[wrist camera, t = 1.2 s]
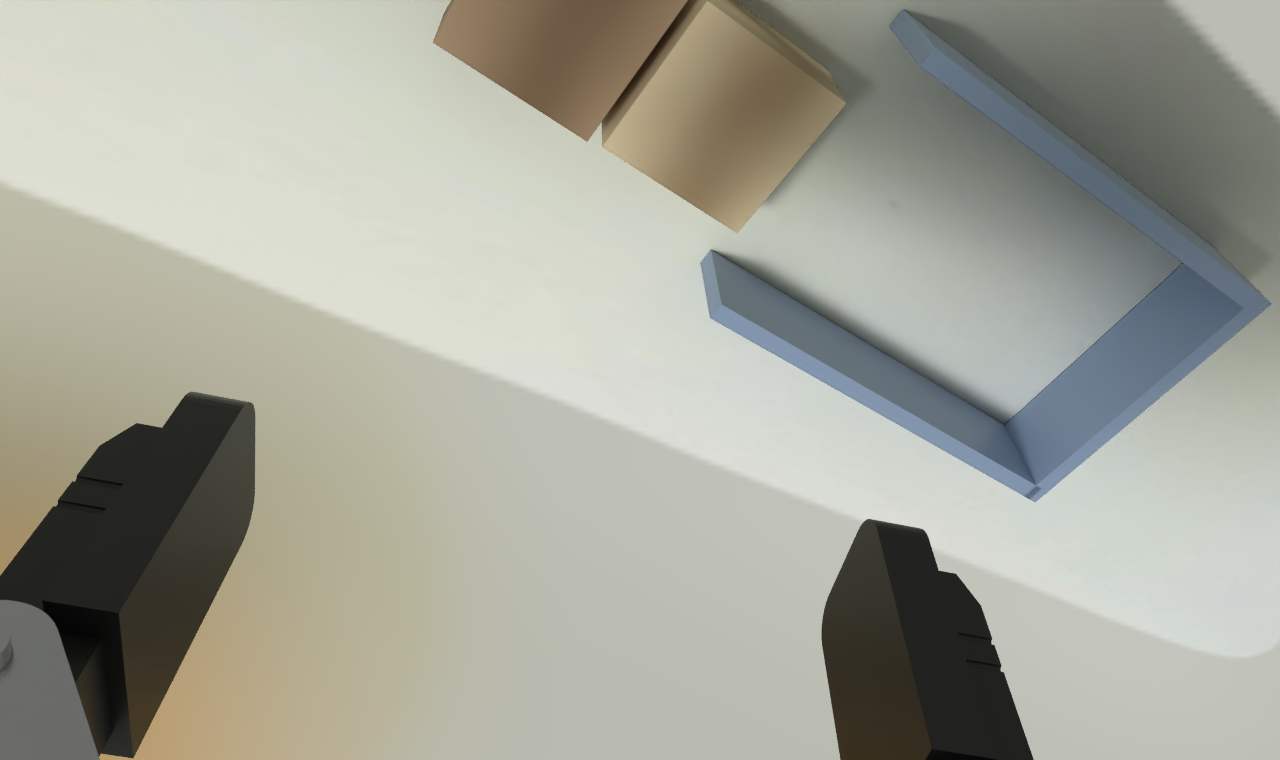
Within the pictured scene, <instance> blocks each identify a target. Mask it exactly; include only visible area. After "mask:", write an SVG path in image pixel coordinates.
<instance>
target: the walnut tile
mask: <svg viewBox="0 0 1280 760" xmlns="http://www.w3.org/2000/svg"><path fill="white" fill-rule="evenodd" d="M687 1H688V0H452V1H451V2H450V4H449V6H448V7H447V9H446V11H445V13H444V15H443V18H442V20H441V23H440V26H439V28H438V31H437V33H436V36H435V38H434V41H433V43H435V44H436V45H438V46H439V47H441V48H442V49H444V50H445V51H447V52H449V53H450V54H452V55H453V56H455V57H456V58H458V59H459V60H461V61H463V62H464V63H466V64H467V65H469V66H470V67H472V68H473V69H475V70H477V71H478V72H480V73H481V74H483V75H484V76H486V77H487V78H489V79H491V80H492V81H494V82H495V83H497V84H498V85H500V86H501V87H503V88H505V89H506V90H508V91H509V92H511V93H512V94H514V95H515V96H517V97H519V98H520V99H522V100H523V101H525V102H526V103H528V104H529V105H531V106H533V107H534V108H536V109H537V110H539V111H540V112H542V113H543V114H545V115H547V116H548V117H550V118H551V119H553V120H554V121H556V122H557V123H559V124H561V125H562V126H564V127H565V128H567V129H568V130H570V131H571V132H573V133H575V134H576V135H578V136H579V137H581V138H582V139H584V140H585V141H588V140H589V139H590V137H591V136H592V134H593V133H594V132H595V130H596V129H597V127H598V126H599V124H600V123H601V122H602V120H603V119H604V117H605V116H606V115H607V113H608V112H609V110H610V109H611V108H612V106H613V105H614V103H615V102H616V101H617V99H618V98H619V96H620V95H621V94H622V92H623V91H624V89H625V88H626V87H627V85H628V84H629V82H630V81H631V79H632V78H633V77H634V75H635V74H636V72H637V71H638V70H639V68H640V67H641V65H642V64H643V63H644V61H645V60H646V58H647V57H648V56H649V54H650V53H651V51H652V50H653V49H654V47H655V46H656V44H657V43H658V42H659V40H660V39H661V37H662V36H663V34H664V33H665V32H666V30H667V29H668V27H669V26H670V25H671V23H672V22H673V20H674V19H675V18H676V16H677V15H678V13H679V12H680V11H681V9H682V8H683V6H684V5H685V4H686V2H687Z"/></svg>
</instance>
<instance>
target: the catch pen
mask: <svg viewBox="0 0 1280 760" xmlns="http://www.w3.org/2000/svg"><path fill="white" fill-rule="evenodd" d="M890 28H891V29H892V30H893V32H894V33H895V34H896V36H897V37H898V38H899V40H900V41H901V42H902V44H903V45H904V46H905V48H906V49H907V50H908V51H909V53H910V54H911V55H912V57H913V58H914V59H915V61H916V62H917V63H918V65H919V66H920V67H921V68H923V69H924V70H925V71H927V72H928V73H929V74H931V75H932V76H933V77H935V78H936V79H937V80H939V81H940V82H941V83H943V84H944V85H945V86H947V87H948V88H949V89H951V90H952V91H953V92H955V93H956V94H957V95H959V96H960V97H961V98H963V99H964V100H965V101H967V102H968V103H970V104H971V105H972V106H974V107H975V108H976V109H978V110H979V111H980V112H982V113H983V114H984V115H986V116H987V117H988V118H990V119H991V120H992V121H994V122H995V123H996V124H998V125H999V126H1000V127H1002V128H1003V129H1004V130H1006V131H1007V132H1008V133H1010V134H1011V135H1012V136H1014V137H1015V138H1016V139H1018V140H1019V141H1020V142H1022V143H1023V144H1024V145H1026V146H1027V147H1029V148H1030V149H1031V150H1033V151H1034V152H1035V153H1037V154H1038V155H1039V156H1041V157H1042V158H1043V159H1045V160H1046V161H1047V162H1049V163H1050V164H1051V165H1053V166H1054V167H1055V168H1057V169H1058V170H1059V171H1061V172H1062V173H1063V174H1065V175H1066V176H1067V177H1069V178H1070V179H1071V180H1073V181H1074V182H1075V183H1077V184H1078V185H1079V186H1081V187H1082V188H1084V189H1085V190H1086V191H1088V192H1089V193H1090V194H1092V195H1093V196H1094V197H1096V198H1097V199H1098V200H1100V201H1101V202H1102V203H1104V204H1105V205H1106V206H1108V207H1109V208H1110V209H1112V210H1113V211H1114V212H1116V213H1117V214H1118V215H1120V216H1121V217H1122V218H1124V219H1125V220H1126V221H1128V222H1129V223H1130V224H1132V225H1133V226H1134V227H1136V228H1137V229H1138V230H1140V231H1141V232H1143V233H1144V234H1145V235H1147V236H1148V237H1149V238H1151V239H1152V240H1153V241H1155V242H1156V243H1157V244H1159V245H1160V246H1161V247H1163V248H1164V249H1165V250H1167V251H1168V252H1169V253H1171V254H1172V255H1173V256H1175V257H1176V258H1177V259H1179V260H1180V261H1181V262H1183V264H1182V265H1181V266H1180V267H1179V268H1178V269H1177V270H1175V271H1174V272H1173V273H1172V274H1171V275H1170V276H1169V277H1168V278H1167V279H1166V280H1164V281H1163V282H1162V283H1161V284H1160V285H1159V286H1158V287H1157V288H1156V289H1154V290H1153V291H1152V292H1151V293H1150V294H1149V295H1148V296H1147V297H1146V298H1145V299H1143V300H1142V301H1141V302H1140V303H1139V304H1138V305H1137V306H1136V307H1135V308H1133V309H1132V310H1131V311H1130V312H1129V313H1128V314H1127V315H1126V316H1125V317H1124V318H1122V319H1121V320H1120V321H1119V322H1118V323H1117V324H1116V325H1115V326H1114V327H1112V328H1111V329H1110V330H1109V331H1108V332H1107V333H1106V334H1105V335H1104V336H1103V337H1101V338H1100V339H1099V340H1098V341H1097V342H1096V343H1095V344H1094V345H1093V346H1091V347H1090V348H1089V349H1088V350H1087V351H1086V352H1085V353H1084V354H1083V355H1082V356H1080V357H1079V358H1078V359H1077V360H1076V361H1075V362H1074V363H1073V364H1072V365H1071V366H1069V367H1068V368H1067V369H1066V370H1065V371H1064V372H1063V373H1062V374H1061V375H1059V376H1058V377H1057V378H1056V379H1055V380H1054V381H1053V382H1052V383H1051V384H1050V385H1048V386H1047V387H1046V388H1045V389H1044V390H1043V391H1042V392H1041V393H1040V394H1038V395H1037V396H1036V397H1035V398H1034V399H1033V400H1032V401H1031V402H1030V403H1029V404H1027V405H1026V406H1025V407H1024V408H1023V409H1022V410H1021V411H1020V412H1019V413H1017V414H1016V415H1015V416H1014V417H1013V418H1012V419H1011V420H1010V421H1009V422H1008V423H1006V424H1005V425H1003V424H1002V423H1000V422H998V421H997V420H995V419H993V418H992V417H990V416H988V415H987V414H985V413H983V412H982V411H980V410H978V409H977V408H975V407H973V406H972V405H970V404H968V403H966V402H965V401H963V400H961V399H960V398H958V397H956V396H955V395H953V394H951V393H950V392H948V391H946V390H945V389H943V388H941V387H940V386H938V385H936V384H935V383H933V382H931V381H930V380H928V379H926V378H925V377H923V376H921V375H920V374H918V373H916V372H915V371H913V370H911V369H910V368H908V367H906V366H905V365H903V364H901V363H900V362H898V361H896V360H895V359H893V358H891V357H889V356H888V355H886V354H884V353H883V352H881V351H879V350H878V349H876V348H874V347H873V346H871V345H869V344H868V343H866V342H864V341H863V340H861V339H859V338H858V337H856V336H854V335H853V334H851V333H849V332H848V331H846V330H844V329H843V328H841V327H839V326H838V325H836V324H834V323H833V322H831V321H829V320H828V319H826V318H824V317H823V316H821V315H819V314H817V313H816V312H814V311H812V310H811V309H809V308H807V307H806V306H804V305H802V304H801V303H799V302H797V301H796V300H794V299H792V298H791V297H789V296H787V295H786V294H784V293H782V292H781V291H779V290H777V289H776V288H774V287H772V286H771V285H769V284H767V283H766V282H764V281H762V280H761V279H759V278H757V277H756V276H754V275H752V274H751V273H749V272H747V271H745V270H744V269H742V268H740V267H739V266H737V265H735V264H734V263H732V262H730V261H729V260H727V259H725V258H724V257H722V256H720V255H719V254H717V253H715V252H714V251H712V250H710V251H709V253H708V254H707V255H706V256H705V258H704V259H703V260H702V261H701V269H702V274H703V280H704V286H705V291H706V297H707V303H708V309H709V314H710V318H711V319H713V320H715V321H716V322H718V323H720V324H722V325H723V326H725V327H727V328H729V329H731V330H732V331H734V332H736V333H738V334H739V335H741V336H743V337H745V338H746V339H748V340H750V341H752V342H753V343H755V344H757V345H759V346H760V347H762V348H764V349H766V350H768V351H769V352H771V353H773V354H775V355H776V356H778V357H780V358H782V359H783V360H785V361H787V362H789V363H790V364H792V365H794V366H796V367H798V368H799V369H801V370H803V371H805V372H806V373H808V374H810V375H812V376H813V377H815V378H817V379H819V380H820V381H822V382H824V383H826V384H827V385H829V386H831V387H833V388H835V389H836V390H838V391H840V392H842V393H843V394H845V395H847V396H849V397H850V398H852V399H854V400H856V401H857V402H859V403H861V404H863V405H864V406H866V407H868V408H870V409H872V410H873V411H875V412H877V413H879V414H880V415H882V416H884V417H886V418H887V419H889V420H891V421H893V422H894V423H896V424H898V425H900V426H902V427H903V428H905V429H907V430H909V431H910V432H912V433H914V434H916V435H917V436H919V437H921V438H923V439H924V440H926V441H928V442H930V443H931V444H933V445H935V446H937V447H939V448H940V449H942V450H944V451H946V452H947V453H949V454H951V455H953V456H954V457H956V458H958V459H960V460H961V461H963V462H965V463H967V464H968V465H970V466H972V467H974V468H976V469H977V470H979V471H981V472H983V473H984V474H986V475H988V476H990V477H991V478H993V479H995V480H997V481H998V482H1000V483H1002V484H1004V485H1006V486H1007V487H1009V488H1011V489H1013V490H1014V491H1016V492H1018V493H1020V494H1021V495H1023V496H1025V497H1027V498H1028V499H1030V500H1032V501H1034V502H1036V501H1037V500H1039V499H1040V498H1041V497H1042V496H1043V495H1045V494H1046V493H1047V492H1048V491H1049V490H1051V489H1052V488H1053V487H1054V486H1055V485H1056V484H1058V483H1059V482H1060V481H1061V480H1062V479H1064V478H1065V477H1066V476H1067V475H1068V474H1070V473H1071V472H1072V471H1073V470H1074V469H1076V468H1077V467H1078V466H1079V465H1080V464H1081V463H1083V462H1084V461H1085V460H1086V459H1087V458H1089V457H1090V456H1091V455H1092V454H1093V453H1095V452H1096V451H1097V450H1098V449H1099V448H1101V447H1102V446H1103V445H1104V444H1105V443H1106V442H1108V441H1109V440H1110V439H1111V438H1112V437H1114V436H1115V435H1116V434H1117V433H1118V432H1120V431H1121V430H1122V429H1123V428H1124V427H1126V426H1127V425H1128V424H1129V423H1130V422H1131V421H1133V420H1134V419H1135V418H1136V417H1137V416H1139V415H1140V414H1141V413H1142V412H1143V411H1145V410H1146V409H1147V408H1148V407H1149V406H1151V405H1152V404H1153V403H1154V402H1155V401H1157V400H1158V399H1159V398H1160V397H1161V396H1162V395H1164V394H1165V393H1166V392H1167V391H1168V390H1170V389H1171V388H1172V387H1173V386H1174V385H1176V384H1177V383H1178V382H1179V381H1180V380H1182V379H1183V378H1184V377H1185V376H1186V375H1187V374H1189V373H1190V372H1191V371H1192V370H1193V369H1195V368H1196V367H1197V366H1198V365H1199V364H1201V363H1202V362H1203V361H1204V360H1205V359H1207V358H1208V357H1209V356H1210V355H1211V354H1212V353H1214V352H1215V351H1216V350H1217V349H1218V348H1220V347H1221V346H1222V345H1223V344H1224V343H1226V342H1227V341H1228V340H1229V339H1230V338H1232V337H1233V336H1234V335H1235V334H1236V333H1237V332H1239V331H1240V330H1241V329H1242V328H1243V327H1245V326H1246V325H1247V324H1248V323H1249V322H1251V321H1252V320H1253V319H1254V318H1255V317H1257V316H1258V315H1259V314H1260V313H1261V312H1262V311H1264V310H1265V309H1266V308H1267V307H1268V306H1270V305H1271V303H1270V302H1269V301H1268V300H1267V299H1266V298H1265V297H1264V296H1263V295H1262V294H1261V293H1260V292H1259V291H1258V290H1257V289H1256V288H1255V287H1254V286H1253V285H1252V284H1251V283H1250V282H1249V281H1248V280H1247V279H1246V278H1245V277H1244V276H1243V275H1242V274H1241V273H1240V272H1239V271H1238V270H1237V269H1236V268H1235V267H1234V266H1233V265H1232V264H1231V263H1230V262H1229V261H1228V260H1227V259H1226V258H1225V257H1224V256H1223V255H1222V254H1221V253H1220V252H1219V251H1218V250H1216V249H1215V248H1214V247H1212V246H1211V245H1210V244H1208V243H1207V242H1206V241H1204V240H1203V239H1202V238H1201V237H1199V236H1198V235H1197V234H1195V233H1194V232H1193V231H1191V230H1190V229H1189V228H1188V227H1186V226H1185V225H1184V224H1182V223H1181V222H1180V221H1178V220H1177V219H1176V218H1174V217H1173V216H1172V215H1171V214H1169V213H1168V212H1167V211H1165V210H1164V209H1163V208H1161V207H1160V206H1159V205H1158V204H1156V203H1155V202H1154V201H1152V200H1151V199H1150V198H1148V197H1147V196H1146V195H1144V194H1143V193H1142V192H1141V191H1139V190H1138V189H1137V188H1135V187H1134V186H1133V185H1131V184H1130V183H1129V182H1128V181H1126V180H1125V179H1124V178H1122V177H1121V176H1120V175H1118V174H1117V173H1116V172H1114V171H1113V170H1112V169H1111V168H1109V167H1108V166H1107V165H1105V164H1104V163H1103V162H1101V161H1100V160H1099V159H1098V158H1096V157H1095V156H1094V155H1092V154H1091V153H1090V152H1088V151H1087V150H1086V149H1085V148H1083V147H1082V146H1081V145H1079V144H1078V143H1077V142H1075V141H1074V140H1073V139H1071V138H1070V137H1069V136H1068V135H1066V134H1065V133H1064V132H1062V131H1061V130H1060V129H1058V128H1057V127H1056V126H1055V125H1053V124H1052V123H1051V122H1049V121H1048V120H1047V119H1045V118H1044V117H1043V116H1041V115H1040V114H1039V113H1038V112H1036V111H1035V110H1034V109H1032V108H1031V107H1030V106H1028V105H1027V104H1026V103H1025V102H1023V101H1022V100H1021V99H1019V98H1018V97H1017V96H1015V95H1014V94H1013V93H1011V92H1010V91H1009V90H1008V89H1006V88H1005V87H1004V86H1002V85H1001V84H1000V83H998V82H997V81H996V80H995V79H993V78H992V77H991V76H989V75H988V74H987V73H985V72H984V71H983V70H982V69H980V68H979V67H978V66H976V65H975V64H974V63H972V62H971V61H970V60H968V59H967V58H966V57H965V56H963V55H962V54H961V53H959V52H958V51H957V50H955V49H954V48H953V47H952V46H950V45H949V44H948V43H946V42H945V41H944V40H942V39H941V38H940V37H938V36H937V35H936V34H935V33H933V32H932V31H931V30H929V29H928V28H927V27H925V26H924V25H923V24H922V23H920V22H919V21H918V20H916V19H915V18H914V17H912V16H911V15H910V14H908V13H907V12H906V11H905V10H902V12H901V13H900V14H899V15H898V17H897V18H896V19H895V20H894V22H893V23H892V24H891V25H890Z"/></svg>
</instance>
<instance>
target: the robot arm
mask: <svg viewBox="0 0 1280 760" xmlns="http://www.w3.org/2000/svg"><path fill="white" fill-rule="evenodd" d="M254 495H255V410H254V406H253V404H252V403H250V402H245V401H240V400H235V399H229V398H224V397H218V396H213V395H207V394H202V393H197V392H189V393H188V394H187V395H185V396H184V398H183V399H182V400H181V402H180V403H179V405H178V406H177V407H176V409H175V410H174V412H173V413H172V415H171V416H170V418H169V419H168V421H167V422H166V423H165V425H164V426H163V428H159V427H155V426H149V425H144V424H138V423H136V424H135V425H133V426H131V427H130V428H128V429H126V430H125V431H123V432H122V433H120V434H118V435H117V436H115V437H113V438H112V439H110V440H109V441H107V442H105V443H104V444H102V445H100V446H99V447H98V449H97V450H96V451H95V453H94V454H93V455H92V456H91V458H90V459H89V460H88V462H87V463H86V464H85V466H84V467H83V468H82V470H81V471H80V472H79V473H78V475H77V479H76V481H75V482H72V483H71V484H70V485H69V487H68V488H67V489H66V490H65V492H64V493H63V494H62V496H61V497H60V498H59V500H58V505H57V506H56V507H55V506H54V507H53V508H52V509H51V510H50V511H49V513H48V514H47V516H46V517H45V518H44V519H43V521H42V522H41V523H40V525H39V526H38V527H37V529H36V530H35V531H34V532H33V534H32V535H31V536H30V538H29V539H28V540H27V542H26V543H25V544H24V546H23V547H22V548H21V549H20V551H19V552H18V554H17V555H16V556H15V557H14V559H13V560H12V561H11V563H10V564H9V565H8V566H7V568H6V569H5V570H4V572H3V573H2V574H1V576H0V760H100V759H99V756H100V754H101V753H102V754H108V755H115V756H122V757H128V758H133V757H134V756H135V754H136V752H137V750H138V748H139V746H140V744H141V742H142V740H143V738H144V736H145V734H146V732H147V730H148V728H149V726H150V724H151V722H152V720H153V718H154V716H155V714H156V712H157V710H158V708H159V706H160V704H161V702H162V700H163V698H164V696H165V695H166V693H167V690H168V689H169V686H170V685H171V683H172V681H173V679H174V677H175V675H176V673H177V671H178V669H179V667H180V665H181V663H182V661H183V659H184V657H185V655H186V653H187V651H188V649H189V647H190V645H191V643H192V641H193V639H194V637H195V635H196V633H197V631H198V629H199V627H200V625H201V623H202V622H203V619H204V617H205V615H206V614H207V612H208V610H209V608H210V606H211V604H212V602H213V600H214V598H215V596H216V593H217V592H218V590H219V588H220V586H221V584H222V582H223V580H224V578H225V576H226V574H227V572H228V570H229V568H230V566H231V564H232V562H233V560H234V558H235V556H236V554H237V552H238V550H239V548H240V547H241V545H242V542H243V540H244V538H245V535H246V532H247V530H248V526H249V523H250V519H251V515H252V510H253V504H254ZM991 640H992V637H991V634H990V631H989V629H988V625H987V622H986V619H985V616H984V613H983V611H982V608H981V605H980V604H979V603H978V602H977V600H976V599H975V598H974V596H973V595H972V594H971V592H970V591H969V590H968V589H967V588H966V586H965V585H964V584H963V582H962V581H961V580H960V578H959V577H958V576H957V574H954V573H948V572H943V571H938V567H937V564H936V561H935V558H934V554H933V551H932V548H931V545H930V541H929V538H928V536H927V534H926V532H925V531H924V530H923V529H920V528H915V527H909V526H904V525H899V524H893V523H888V522H882V521H877V520H872V519H867V520H866V521H864V523H863V524H862V525H861V527H860V529H859V530H858V532H857V535H856V537H855V539H854V541H853V544H852V546H851V548H850V550H849V552H848V554H847V557H846V559H845V561H844V563H843V565H842V568H841V570H840V572H839V574H838V577H837V579H836V581H835V583H834V585H833V587H832V590H831V592H830V594H829V596H828V599H827V602H826V606H825V609H824V614H823V621H822V647H823V653H824V659H825V665H826V671H827V678H828V684H829V690H830V697H831V702H832V709H833V715H834V721H835V728H836V734H837V740H838V746H839V753H840V759H841V760H1033V757H1032V754H1031V751H1030V748H1029V745H1028V742H1027V739H1026V736H1025V733H1024V730H1023V728H1022V725H1021V722H1020V719H1019V716H1018V713H1017V710H1016V707H1015V704H1014V701H1013V698H1012V695H1011V692H1010V690H1009V687H1008V684H1007V681H1006V678H1005V675H1004V673H1003V672H1001V671H1000V668H1001V663H1000V660H999V657H998V655H997V651H996V649H995V646H994V645H991Z"/></svg>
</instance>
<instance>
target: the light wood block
mask: <svg viewBox="0 0 1280 760" xmlns="http://www.w3.org/2000/svg"><path fill="white" fill-rule="evenodd" d="M845 105H846V101H845V100H844V98H843V96H842V94H841V92H840V90H839V89H838V87H837V85H836V83H835V81H834V80H833V78H832V76H831V74H830V72H829V70H828V69H826V68H825V67H824V66H822V65H821V64H820V63H818V62H817V61H816V60H814V59H813V58H812V57H810V56H809V55H808V54H806V53H805V52H804V51H802V50H801V49H800V48H798V47H797V46H796V45H794V44H793V43H792V42H790V41H789V40H788V39H786V38H785V37H784V36H782V35H781V34H780V33H778V32H777V31H776V30H774V29H773V28H772V27H770V26H769V25H768V24H766V23H765V22H763V21H762V20H761V19H759V18H758V17H757V16H755V15H754V14H753V13H751V12H750V11H749V10H747V9H746V8H745V7H743V6H742V5H741V4H739V3H738V2H737V1H735V0H688V1H687V2H686V4H685V5H684V6H683V8H682V9H681V11H680V12H679V13H678V15H677V16H676V18H675V19H674V20H673V22H672V23H671V25H670V26H669V27H668V29H667V30H666V32H665V33H664V34H663V36H662V37H661V39H660V40H659V42H658V43H657V44H656V46H655V47H654V49H653V50H652V51H651V53H650V54H649V56H648V57H647V58H646V60H645V61H644V63H643V64H642V65H641V67H640V68H639V70H638V71H637V72H636V74H635V75H634V77H633V78H632V79H631V81H630V82H629V84H628V85H627V87H626V88H625V89H624V91H623V92H622V94H621V95H620V96H619V98H618V99H617V101H616V102H615V103H614V105H613V106H612V108H611V109H610V110H609V112H608V113H607V115H606V116H605V117H604V119H603V120H602V147H603V148H605V149H606V150H608V151H609V152H611V153H613V154H614V155H616V156H617V157H619V158H620V159H622V160H624V161H625V162H627V163H628V164H630V165H631V166H633V167H634V168H636V169H638V170H639V171H641V172H642V173H644V174H645V175H647V176H649V177H650V178H652V179H653V180H655V181H656V182H658V183H659V184H661V185H663V186H664V187H666V188H667V189H669V190H670V191H672V192H674V193H675V194H677V195H678V196H680V197H681V198H683V199H684V200H686V201H688V202H689V203H691V204H692V205H694V206H695V207H697V208H699V209H700V210H702V211H703V212H705V213H706V214H708V215H709V216H711V217H713V218H714V219H716V220H717V221H719V222H720V223H722V224H724V225H725V226H727V227H728V228H730V229H731V230H733V231H734V232H736V233H738V232H739V231H740V230H741V228H742V227H743V226H744V225H745V224H746V222H747V221H748V220H749V219H750V218H751V217H752V215H753V214H754V213H755V212H756V211H757V209H758V208H759V207H760V206H761V205H762V203H763V202H764V201H765V200H766V199H767V197H768V196H769V195H770V194H771V193H772V192H773V190H774V189H775V188H776V187H777V186H778V184H779V183H780V182H781V181H782V180H783V178H784V177H785V176H786V175H787V174H788V172H789V171H790V170H791V169H792V168H793V167H794V165H795V164H796V163H797V162H798V161H799V159H800V158H801V157H802V156H803V155H804V153H805V152H806V151H807V150H808V149H809V147H810V146H811V145H812V144H813V143H814V142H815V140H816V139H817V138H818V137H819V136H820V134H821V133H822V132H823V131H824V130H825V128H826V127H827V126H828V125H829V124H830V123H831V121H832V120H833V119H834V118H835V117H836V115H837V114H838V113H839V112H840V111H841V109H842V108H843V107H844V106H845Z"/></svg>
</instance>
